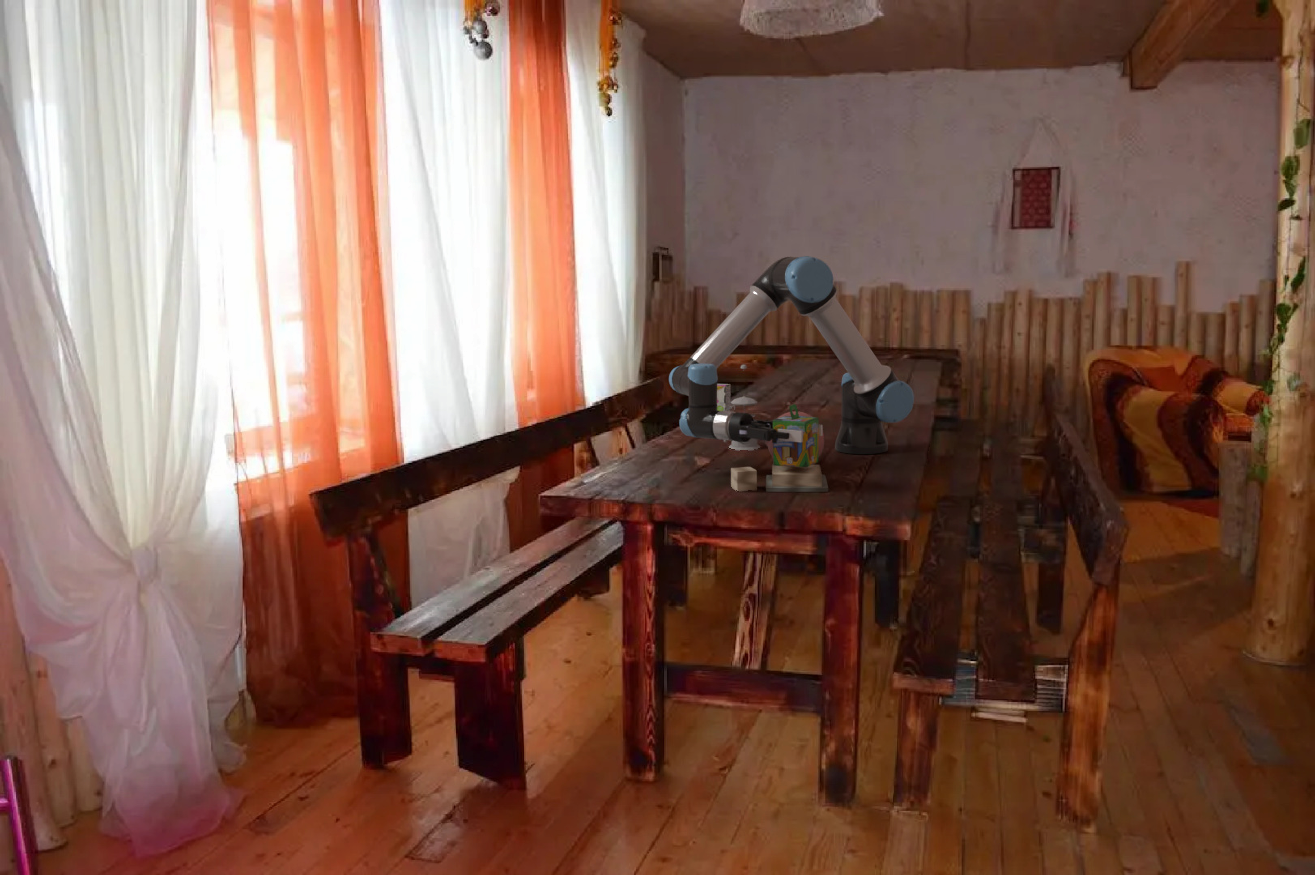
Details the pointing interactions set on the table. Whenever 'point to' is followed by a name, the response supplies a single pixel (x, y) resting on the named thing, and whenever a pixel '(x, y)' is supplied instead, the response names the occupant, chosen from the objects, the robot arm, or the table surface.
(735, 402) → the french press
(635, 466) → the table surface
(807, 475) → the plinth
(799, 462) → the chalk box
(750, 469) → the birch block
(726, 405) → the candy bar box
